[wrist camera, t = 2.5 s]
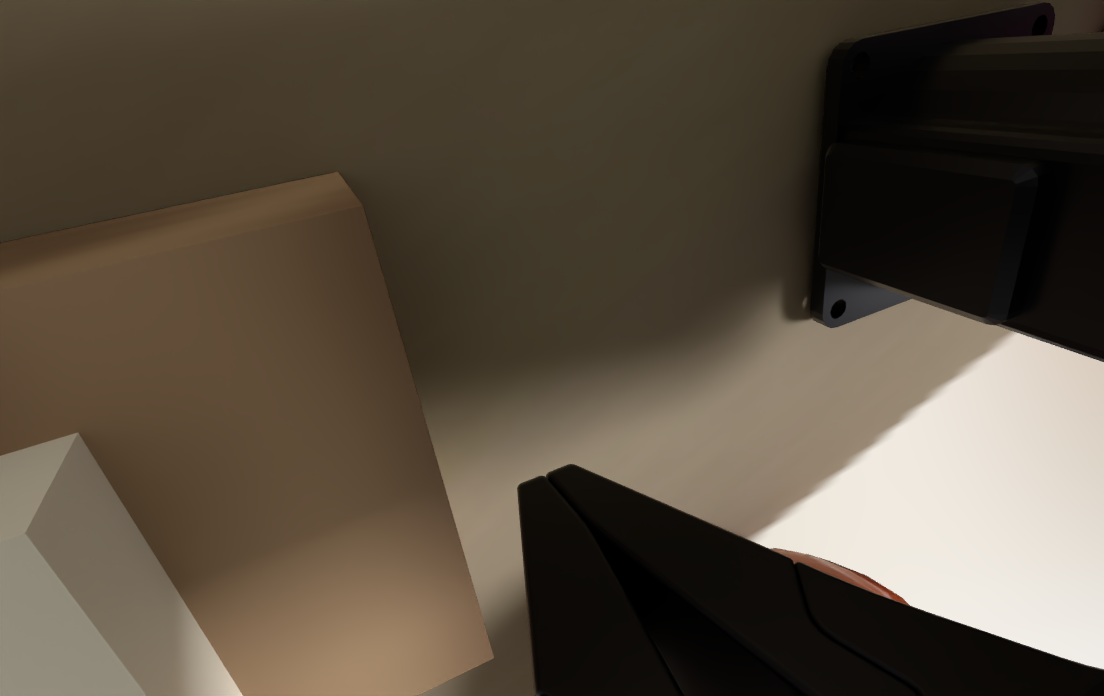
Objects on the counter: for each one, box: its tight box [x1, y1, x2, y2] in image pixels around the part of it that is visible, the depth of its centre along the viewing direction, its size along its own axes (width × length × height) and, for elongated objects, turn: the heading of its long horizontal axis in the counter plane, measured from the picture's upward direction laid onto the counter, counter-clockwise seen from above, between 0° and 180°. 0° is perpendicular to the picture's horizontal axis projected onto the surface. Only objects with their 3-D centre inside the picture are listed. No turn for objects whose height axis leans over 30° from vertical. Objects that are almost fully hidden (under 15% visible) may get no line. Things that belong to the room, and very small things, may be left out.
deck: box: [0, 172, 494, 696], centre depth 9 cm, size 11×8×3 cm
